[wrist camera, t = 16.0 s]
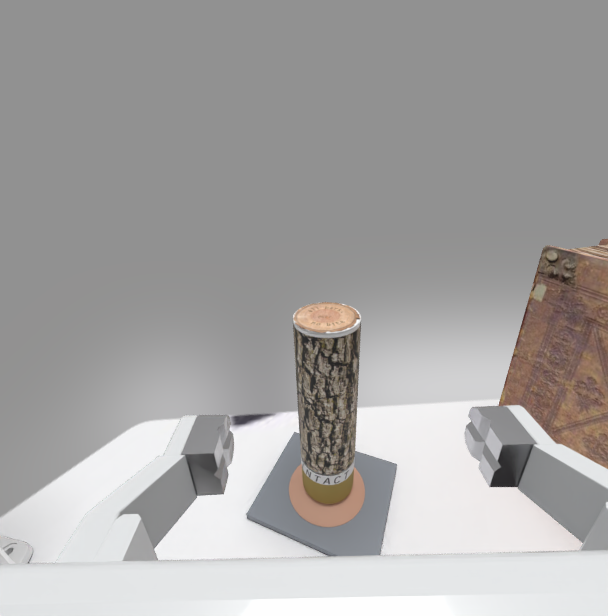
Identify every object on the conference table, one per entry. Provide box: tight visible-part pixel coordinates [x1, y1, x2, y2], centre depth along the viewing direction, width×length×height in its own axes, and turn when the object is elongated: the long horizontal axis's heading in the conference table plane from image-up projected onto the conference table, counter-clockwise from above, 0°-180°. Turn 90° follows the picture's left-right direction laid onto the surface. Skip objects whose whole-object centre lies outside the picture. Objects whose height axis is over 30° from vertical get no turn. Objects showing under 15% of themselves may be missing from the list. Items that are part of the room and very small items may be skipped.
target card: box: [247, 432, 397, 556], centre depth 42 cm, size 16×14×1 cm
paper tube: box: [293, 302, 361, 504], centre depth 37 cm, size 7×7×25 cm
